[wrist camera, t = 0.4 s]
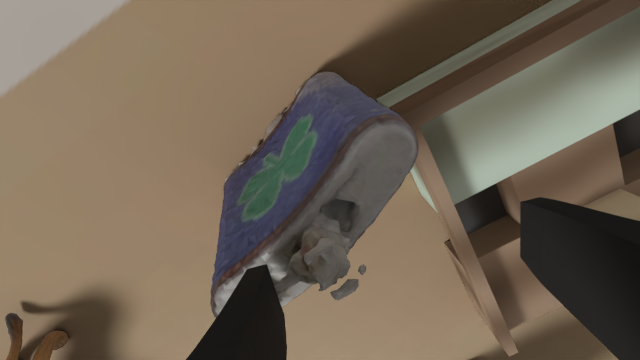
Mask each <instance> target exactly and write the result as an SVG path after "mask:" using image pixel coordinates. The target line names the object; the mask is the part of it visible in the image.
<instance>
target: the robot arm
mask: <svg viewBox="0 0 640 360" xmlns="http://www.w3.org/2000/svg"><path fill="white" fill-rule="evenodd" d="M520 257H521V259H522V260H523V261H524V263H525V264H526V265H527V267H528V268H529V269H530V270H531V272H532V273H533V274H534V275H535V277H536V278H537V279H538V280H539V281H540V283H541V284H542V285H543V286H544V287H545V288H546V289H547V290H548V291H549V292H550V293H551V294H552V295H553V296H554V297H555V298H556V299H557V300H558V301H559V302H560V303H561V304H562V305H563V306H564V307H565V308H567V309H568V310H569V311H570V312H571V313H572V314H573V315H574V316H575V317H576V318H577V319H578V320H579V321H580V322H581V323H582V324H583V325H584V326H585V327H586V328H587V329H588V330H589V331H590V332H592V333H593V334H594V335H595V336H596V337H597V338H598V339H599V340H600V341H601V342H602V343H603V344H604V345H605V346H606V347H607V348H608V349H609V350H610V351H611V352H612V353H613V354H614V355H615V356H616V357H617V358H618V359H619V360H640V221H637V220H633V219H629V218H625V217H621V216H617V215H613V214H609V213H605V212H602V211H598V210H594V209H590V208H586V207H582V206H579V205H575V204H571V203H567V202H562V201H558V200H554V199H549V198H543V197H538V198H534V199H530V200H526V201H522V202H520ZM286 354H287V344H286V330H285V318H284V313H283V310H282V307H281V304H280V301H279V298H278V295H277V292H276V289H275V287H274V284H273V281H272V278H271V275H270V272H269V269H268V266H267V264H265V265H261V266H257V267H253V268H249V269H247V270H246V272H245V273H244V275H243V276H242V278H241V280H240V281H239V283H238V284H237V286H236V288H235V289H234V291H233V293H232V294H231V296H230V297H229V299H228V301H227V302H226V304H225V305H224V307H223V309H222V310H221V312H220V313H219V315H218V316H217V318H216V319H215V321H214V322H213V324H212V325H211V327H210V328H209V329H208V331H207V332H206V334H205V335H204V336H203V338H202V339H201V341H200V342H199V343H198V345H197V346H196V348H195V349H194V350H193V352H192V353H191V354H190V355H189V357H188V358H187V359H186V360H286Z"/></svg>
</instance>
